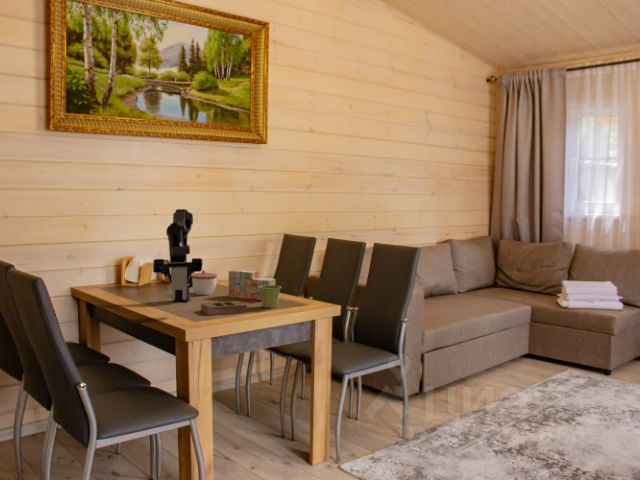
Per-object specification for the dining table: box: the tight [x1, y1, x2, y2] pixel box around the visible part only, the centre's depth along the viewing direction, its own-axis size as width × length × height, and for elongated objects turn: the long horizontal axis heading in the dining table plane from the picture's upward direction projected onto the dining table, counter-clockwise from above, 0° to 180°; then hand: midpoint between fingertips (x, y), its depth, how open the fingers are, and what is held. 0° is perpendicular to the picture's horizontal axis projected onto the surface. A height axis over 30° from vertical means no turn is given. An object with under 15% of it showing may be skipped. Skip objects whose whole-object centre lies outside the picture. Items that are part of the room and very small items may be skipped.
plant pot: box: [259, 284, 282, 309], centre depth 272 cm, size 9×9×9 cm
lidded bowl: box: [191, 269, 218, 296], centre depth 301 cm, size 13×13×11 cm
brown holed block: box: [200, 300, 248, 316], centre depth 260 cm, size 10×16×3 cm, turn 117°
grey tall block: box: [170, 266, 188, 301], centre depth 249 cm, size 4×6×12 cm
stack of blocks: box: [228, 269, 276, 301], centre depth 293 cm, size 21×6×12 cm, turn 65°
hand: (179, 282), depth 248 cm, fingers closed on grey tall block, 6 cm apart
